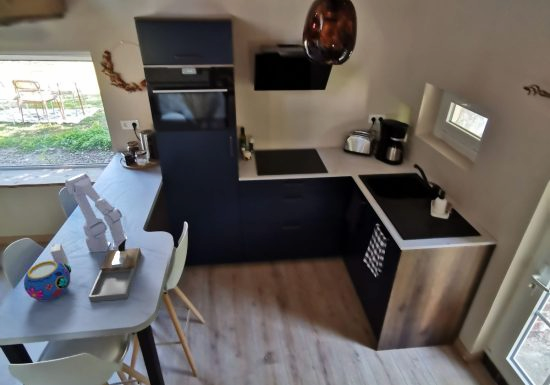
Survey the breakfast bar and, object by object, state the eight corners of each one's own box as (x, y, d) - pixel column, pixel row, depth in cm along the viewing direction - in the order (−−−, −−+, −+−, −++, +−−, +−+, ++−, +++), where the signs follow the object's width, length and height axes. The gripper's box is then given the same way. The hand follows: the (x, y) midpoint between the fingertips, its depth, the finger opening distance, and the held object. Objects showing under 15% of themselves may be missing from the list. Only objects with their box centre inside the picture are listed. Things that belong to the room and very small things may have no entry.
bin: (90, 302, 152) (88, 296, 150) (102, 274, 167) (100, 269, 165) (127, 299, 154) (125, 293, 152) (135, 271, 169) (134, 266, 167)
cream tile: (114, 261, 170) (113, 258, 169) (117, 254, 174) (116, 251, 173) (125, 260, 171) (124, 257, 170) (127, 253, 175) (126, 250, 174)
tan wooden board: (102, 274, 167) (100, 268, 165) (110, 256, 179) (108, 250, 177) (135, 271, 169) (134, 265, 167) (141, 253, 181) (140, 248, 179)
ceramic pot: (70, 303, 151) (60, 278, 144) (25, 311, 147) (12, 287, 139) (78, 276, 166) (69, 253, 158) (37, 283, 161) (26, 260, 154)
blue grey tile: (112, 267, 166) (111, 264, 165) (115, 261, 170) (114, 258, 169) (122, 266, 166) (121, 263, 165) (125, 260, 171) (124, 257, 170)
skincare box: (67, 268, 171) (60, 250, 165) (57, 270, 169) (50, 252, 163) (68, 261, 175) (61, 242, 169) (58, 263, 174) (51, 245, 168)
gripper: (121, 239, 163) (127, 260, 169) (128, 222, 175) (133, 242, 182) (106, 240, 162) (112, 261, 168) (114, 223, 174) (120, 243, 181)
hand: (122, 251), depth 175 cm, fingers closed
